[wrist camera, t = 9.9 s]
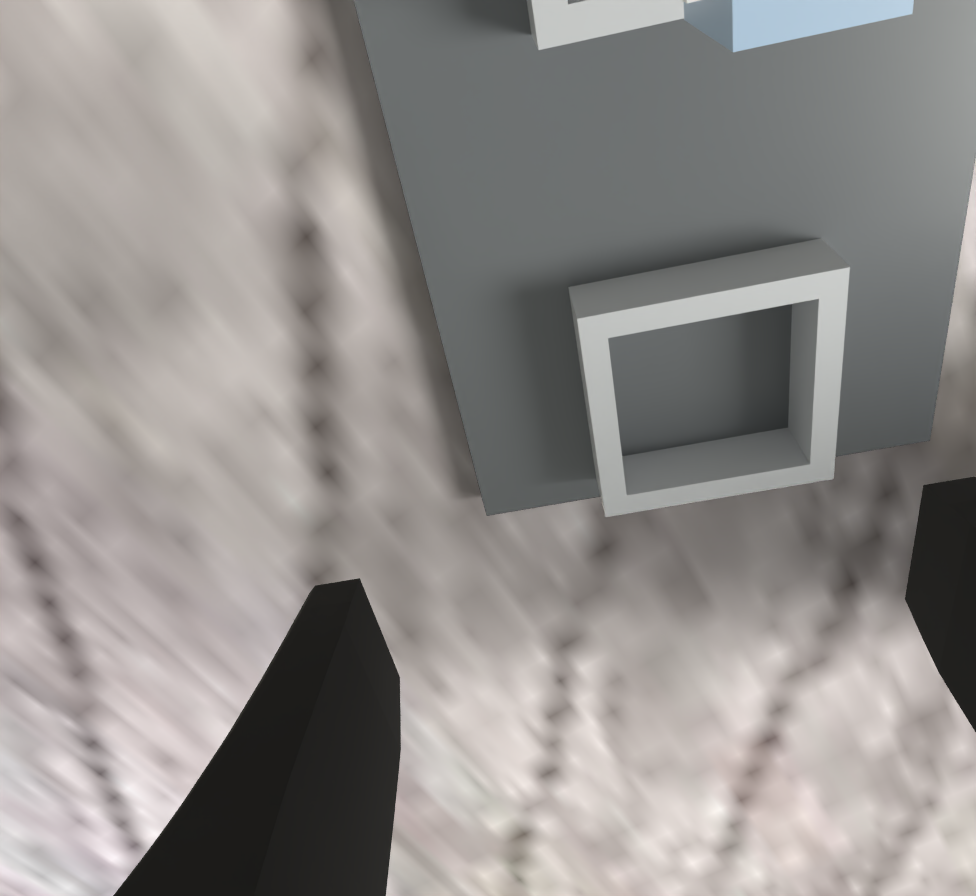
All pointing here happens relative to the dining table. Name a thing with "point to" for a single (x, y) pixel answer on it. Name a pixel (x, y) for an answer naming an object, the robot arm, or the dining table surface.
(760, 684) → the dining table surface
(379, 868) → the robot arm
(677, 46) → the port board
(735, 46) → the plug
